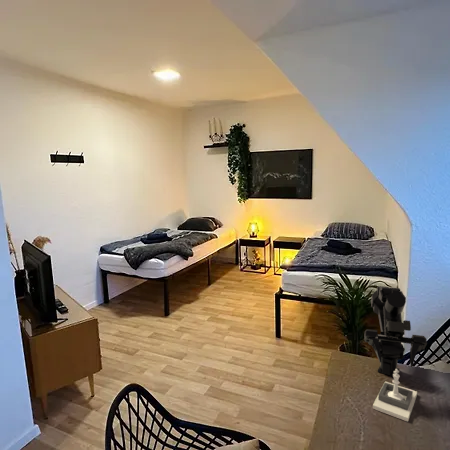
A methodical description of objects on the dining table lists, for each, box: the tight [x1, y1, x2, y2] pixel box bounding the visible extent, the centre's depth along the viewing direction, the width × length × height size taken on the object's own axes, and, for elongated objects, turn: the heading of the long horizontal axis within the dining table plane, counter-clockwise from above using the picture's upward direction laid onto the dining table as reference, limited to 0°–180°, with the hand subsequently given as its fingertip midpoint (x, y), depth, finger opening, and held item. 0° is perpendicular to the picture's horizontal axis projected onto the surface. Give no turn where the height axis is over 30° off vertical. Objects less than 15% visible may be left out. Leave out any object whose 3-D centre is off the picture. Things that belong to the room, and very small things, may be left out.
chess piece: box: [387, 369, 404, 401], centre depth 107 cm, size 5×5×10 cm
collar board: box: [372, 381, 418, 422], centre depth 107 cm, size 16×10×3 cm, turn 141°
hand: (395, 364), depth 108 cm, fingers open, 9 cm apart
